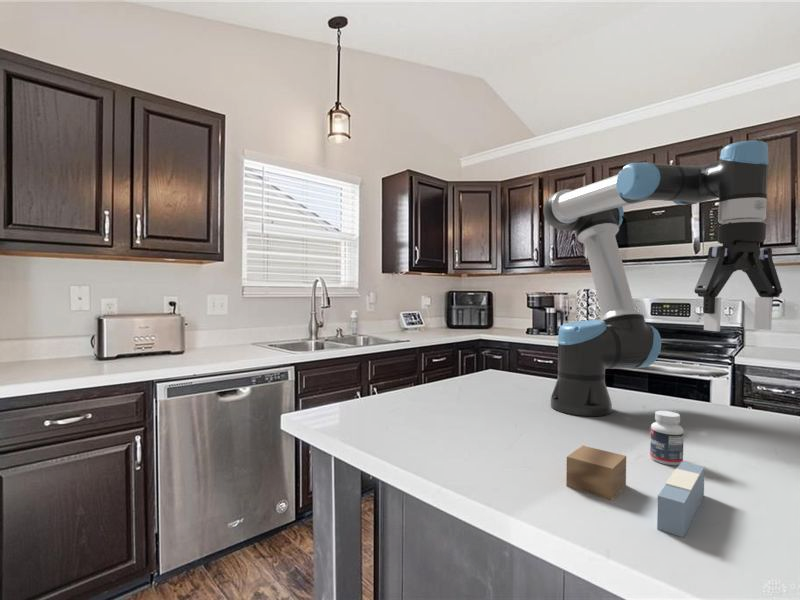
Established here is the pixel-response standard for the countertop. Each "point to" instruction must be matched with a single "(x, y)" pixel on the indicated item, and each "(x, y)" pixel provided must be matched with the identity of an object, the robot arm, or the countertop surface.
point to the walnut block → (596, 472)
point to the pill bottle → (667, 438)
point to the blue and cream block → (680, 498)
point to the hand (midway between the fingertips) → (737, 330)
